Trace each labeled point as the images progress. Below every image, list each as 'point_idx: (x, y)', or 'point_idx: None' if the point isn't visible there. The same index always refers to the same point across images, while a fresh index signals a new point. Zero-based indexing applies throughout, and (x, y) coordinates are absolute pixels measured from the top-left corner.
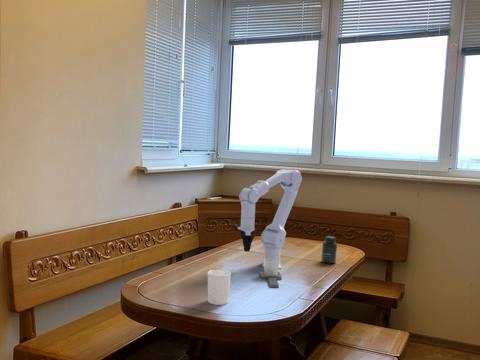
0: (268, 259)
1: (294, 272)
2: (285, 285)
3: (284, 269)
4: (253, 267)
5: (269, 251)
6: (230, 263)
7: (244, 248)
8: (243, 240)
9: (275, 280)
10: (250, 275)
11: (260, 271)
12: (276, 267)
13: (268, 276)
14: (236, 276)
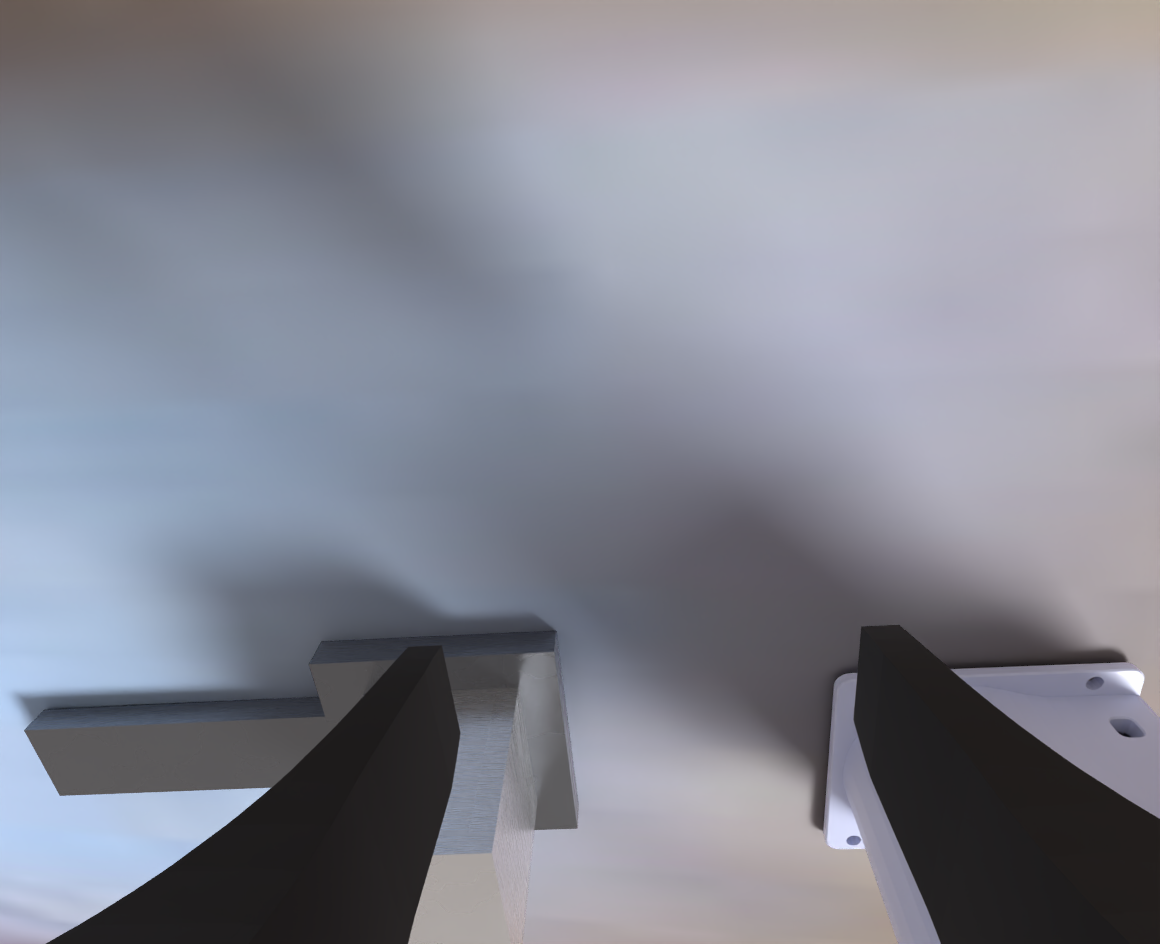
0: None
1: (698, 921)
2: (189, 824)
3: (812, 857)
4: (881, 559)
5: (936, 940)
6: (1154, 195)
7: (372, 695)
8: (172, 880)
9: (215, 777)
10: (445, 525)
11: (548, 654)
12: None
13: (331, 727)
14: (329, 348)
